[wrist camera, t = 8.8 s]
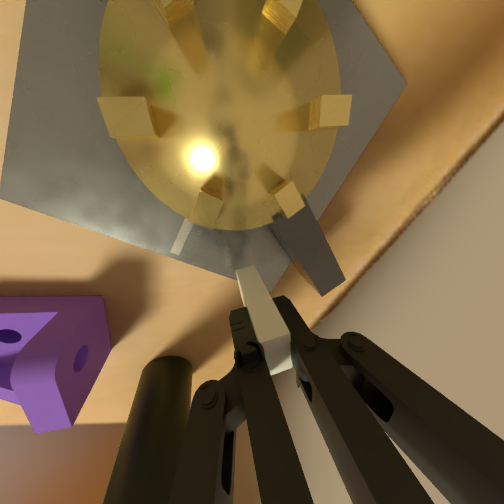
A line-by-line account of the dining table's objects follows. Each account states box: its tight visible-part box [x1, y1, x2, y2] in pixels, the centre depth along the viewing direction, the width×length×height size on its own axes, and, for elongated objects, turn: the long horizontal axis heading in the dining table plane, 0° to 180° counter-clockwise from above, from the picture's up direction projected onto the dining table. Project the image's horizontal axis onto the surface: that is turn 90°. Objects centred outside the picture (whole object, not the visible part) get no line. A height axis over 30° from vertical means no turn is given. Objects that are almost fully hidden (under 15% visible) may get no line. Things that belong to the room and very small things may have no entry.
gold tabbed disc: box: [96, 0, 352, 297], centre depth 12 cm, size 19×11×5 cm, turn 35°
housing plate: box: [0, 0, 407, 292], centre depth 13 cm, size 20×20×2 cm
